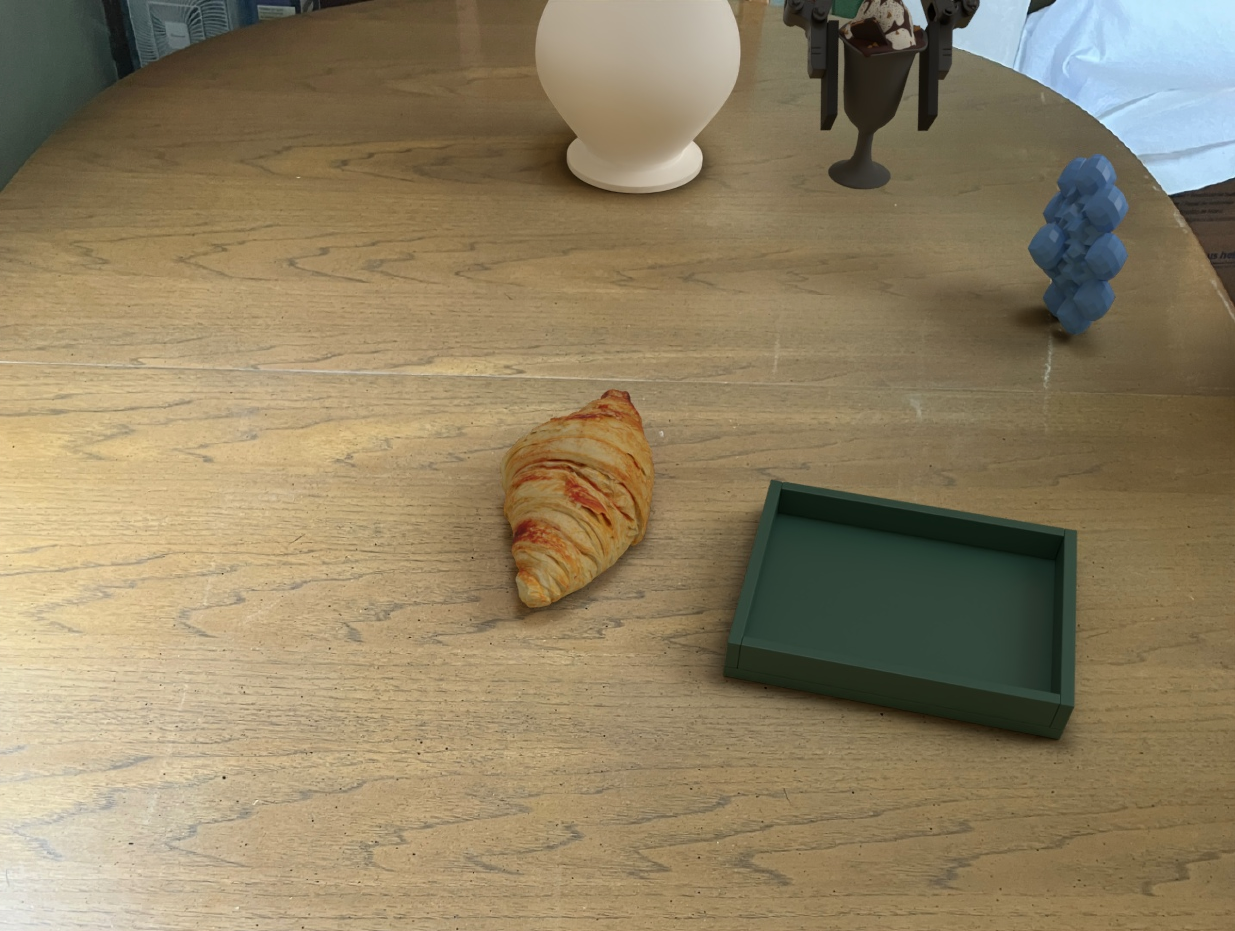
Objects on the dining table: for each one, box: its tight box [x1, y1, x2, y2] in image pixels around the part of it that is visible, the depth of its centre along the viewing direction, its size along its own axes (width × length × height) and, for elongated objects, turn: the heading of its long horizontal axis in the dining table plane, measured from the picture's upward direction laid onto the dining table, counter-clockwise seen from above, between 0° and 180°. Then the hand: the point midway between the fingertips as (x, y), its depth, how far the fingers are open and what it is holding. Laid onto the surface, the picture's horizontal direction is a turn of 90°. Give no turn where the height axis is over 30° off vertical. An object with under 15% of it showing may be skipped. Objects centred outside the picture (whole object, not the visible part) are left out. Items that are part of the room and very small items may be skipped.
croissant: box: [499, 388, 656, 608], centre depth 80 cm, size 21×10×8 cm, turn 166°
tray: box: [722, 479, 1078, 740], centre depth 75 cm, size 20×16×3 cm
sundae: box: [827, 0, 928, 191], centre depth 92 cm, size 7×7×15 cm
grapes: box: [1027, 153, 1130, 336], centre depth 94 cm, size 12×7×12 cm, turn 7°
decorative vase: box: [534, 0, 741, 194], centre depth 104 cm, size 18×18×25 cm
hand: (878, 122), depth 91 cm, fingers closed on sundae, 7 cm apart
